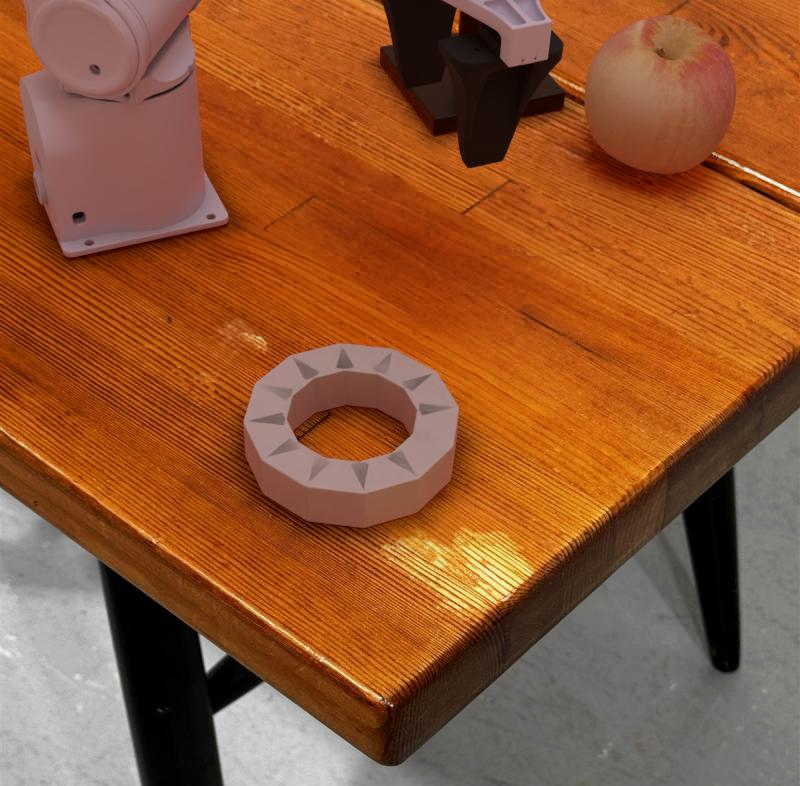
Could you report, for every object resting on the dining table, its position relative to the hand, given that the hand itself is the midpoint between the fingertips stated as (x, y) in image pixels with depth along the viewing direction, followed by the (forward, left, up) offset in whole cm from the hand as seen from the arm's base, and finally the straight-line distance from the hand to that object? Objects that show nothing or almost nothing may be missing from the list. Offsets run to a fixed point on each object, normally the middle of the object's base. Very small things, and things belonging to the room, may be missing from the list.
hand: (451, 120), depth 75 cm
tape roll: (-10, -12, -9) cm, 18 cm away
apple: (+16, +5, -9) cm, 19 cm away
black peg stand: (+9, +16, -9) cm, 21 cm away
